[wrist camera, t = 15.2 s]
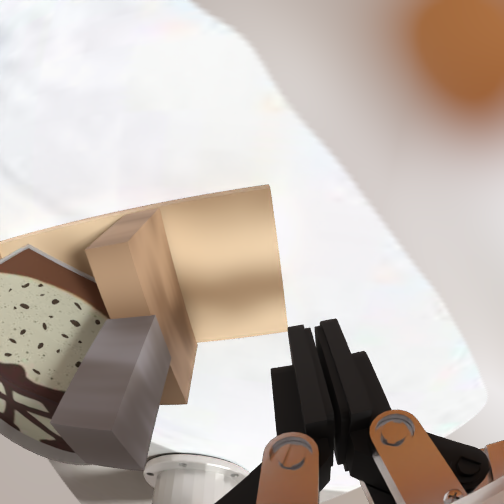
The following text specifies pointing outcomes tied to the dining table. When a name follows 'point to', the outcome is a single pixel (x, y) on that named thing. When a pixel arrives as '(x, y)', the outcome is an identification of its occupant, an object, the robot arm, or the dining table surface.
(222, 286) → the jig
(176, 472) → the robot arm
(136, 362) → the block
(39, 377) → the food container
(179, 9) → the dining table surface
